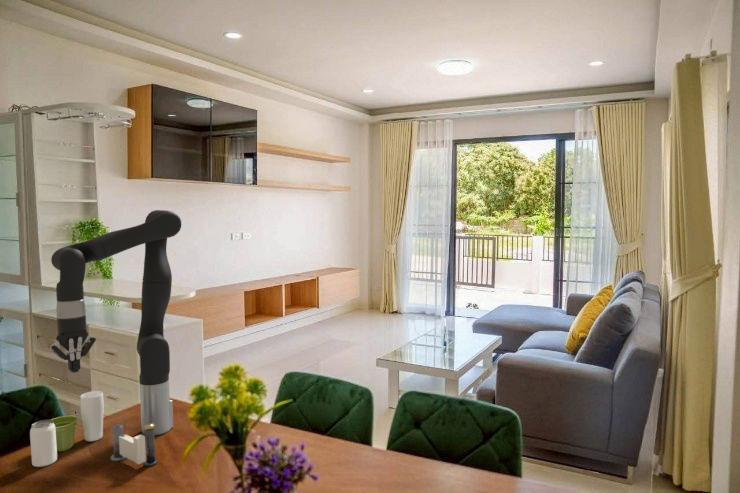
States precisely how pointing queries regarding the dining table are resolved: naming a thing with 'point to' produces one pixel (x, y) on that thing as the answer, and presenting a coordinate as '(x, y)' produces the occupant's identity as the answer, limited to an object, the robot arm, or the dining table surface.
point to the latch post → (150, 445)
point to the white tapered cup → (92, 414)
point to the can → (43, 443)
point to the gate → (133, 448)
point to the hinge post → (117, 442)
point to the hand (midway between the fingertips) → (74, 371)
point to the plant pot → (65, 431)
